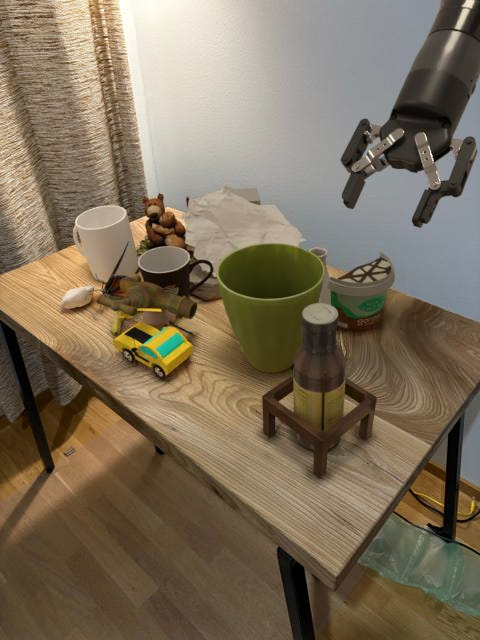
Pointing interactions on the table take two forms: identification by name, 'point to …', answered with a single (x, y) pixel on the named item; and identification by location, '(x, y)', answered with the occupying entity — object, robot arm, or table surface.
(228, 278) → the flower pot
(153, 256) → the coffee mug
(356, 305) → the food container
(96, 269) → the mug
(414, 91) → the robot arm
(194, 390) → the table surface
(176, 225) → the bear figurine
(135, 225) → the table surface
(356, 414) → the open square stand
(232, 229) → the paper
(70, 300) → the dumpling
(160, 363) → the toy car
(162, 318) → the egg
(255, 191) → the toy
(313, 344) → the sauce bottle
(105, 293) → the butterfly
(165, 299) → the action figure
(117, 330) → the banana
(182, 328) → the stick
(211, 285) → the ceramic tile fragment
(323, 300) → the flask
